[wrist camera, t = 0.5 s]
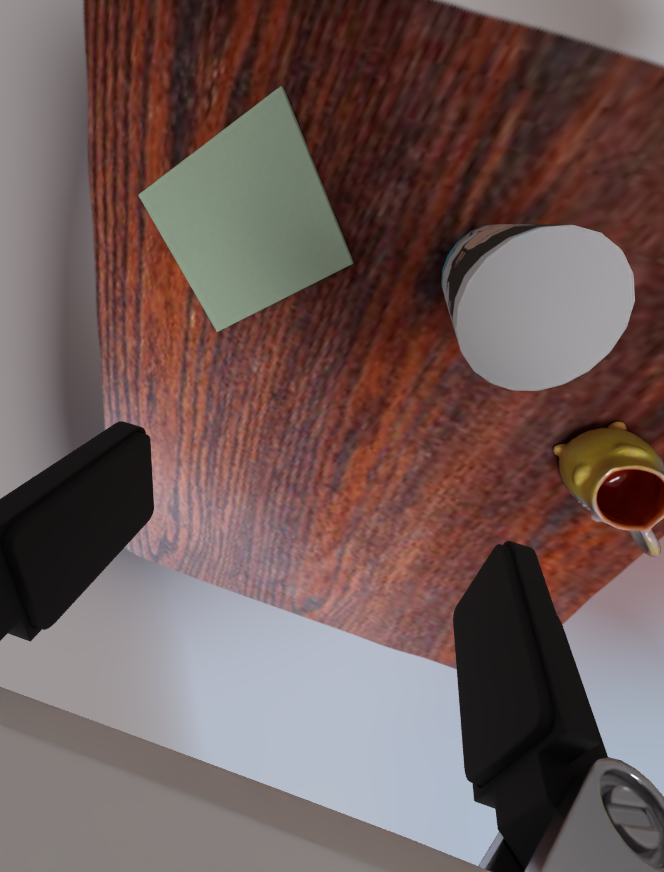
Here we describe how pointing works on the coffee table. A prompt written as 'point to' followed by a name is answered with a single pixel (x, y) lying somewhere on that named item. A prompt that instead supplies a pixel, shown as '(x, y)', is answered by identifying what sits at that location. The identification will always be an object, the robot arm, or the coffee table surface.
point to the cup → (536, 301)
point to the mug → (616, 480)
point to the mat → (249, 215)
